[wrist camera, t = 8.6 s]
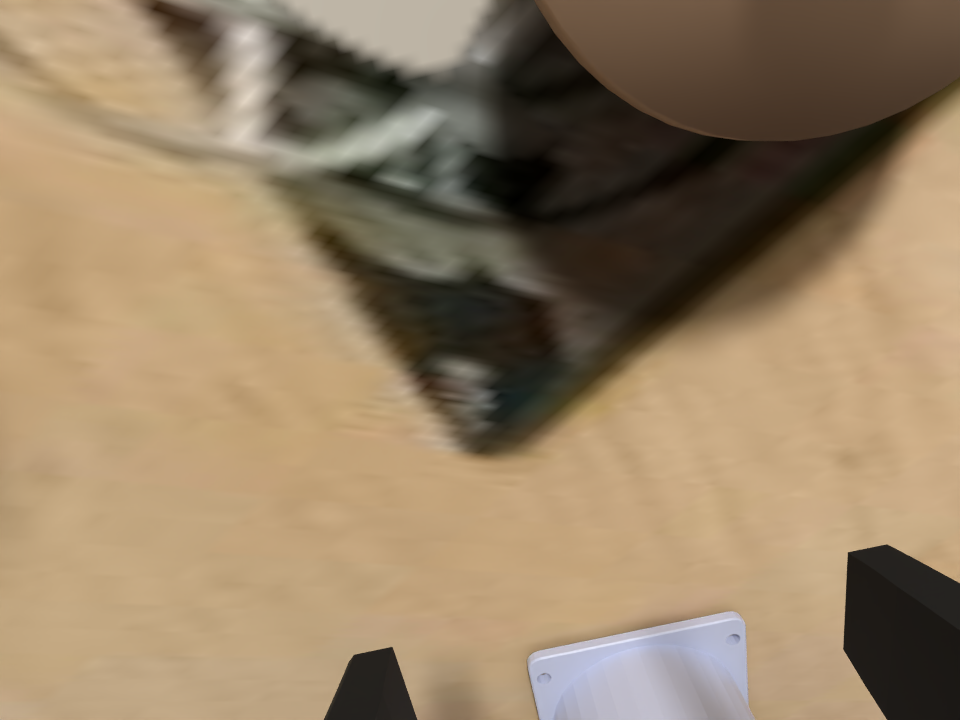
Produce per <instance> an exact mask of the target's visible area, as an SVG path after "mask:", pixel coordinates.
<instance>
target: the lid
mask: <svg viewBox="0 0 960 720" xmlns="http://www.w3.org/2000/svg"><path fill="white" fill-rule="evenodd" d="M534 1H535V3H536V5H537V6H538V8H539V9H540V11H541V13H542V14H543V16H544V17H545V19H546V21H547V22H548V24H549V25H550V27H551V29H552V30H553V32H554V33H555V34H556V36H557V37H558V38H559V39H560V40H561V42H562V43H563V44H564V45H565V47H566V48H567V49H568V50H569V51H570V53H571V54H572V55H573V56H574V57H575V59H576V60H577V61H578V62H579V63H580V64H581V65H582V66H583V67H584V68H585V69H586V70H587V71H588V72H589V73H590V74H592V75H593V76H594V77H595V78H596V79H597V80H598V81H599V82H600V83H601V84H602V85H603V86H605V87H606V88H607V89H608V90H609V91H611V92H612V93H614V94H615V95H617V96H618V97H620V98H621V99H623V100H624V101H626V102H627V103H629V104H630V105H631V106H633V107H634V108H636V109H637V110H639V111H641V112H643V113H646V114H648V115H650V116H652V117H654V118H656V119H658V120H660V121H662V122H664V123H666V124H668V125H671V126H674V127H678V128H681V129H684V130H688V131H691V132H694V133H697V134H701V135H705V136H712V137H719V138H726V139H733V140H745V141H797V140H804V139H811V138H818V137H825V136H832V135H835V134H839V133H842V132H846V131H850V130H853V129H857V128H860V127H864V126H867V125H870V124H873V123H875V122H877V121H880V120H882V119H884V118H887V117H889V116H892V115H894V114H896V113H899V112H901V111H903V110H906V109H908V108H909V107H911V106H913V105H915V104H916V103H918V102H920V101H922V100H924V99H925V98H927V97H929V96H931V95H932V94H934V93H936V92H938V91H939V90H941V89H943V88H944V87H946V86H947V85H949V84H950V83H951V82H953V81H954V80H956V79H957V78H958V77H960V0H534Z"/></svg>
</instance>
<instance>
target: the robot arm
mask: <svg viewBox="0 0 960 720" xmlns="http://www.w3.org/2000/svg"><path fill="white" fill-rule="evenodd" d="M730 635H731V636H730ZM843 649H844V651H845V653H846V654H847V656H848V658H849V659H850V661H851V663H852V664H853V666H854V668H855V669H856V671H857V673H858V674H859V676H860V678H861V679H862V681H863V683H864V684H865V686H866V687H867V689H868V691H869V692H870V694H871V695H872V697H873V698H874V700H875V701H876V703H877V705H878V706H879V708H880V709H881V711H882V712H883V714H884V716H885V717H886V719H887V720H960V583H958V582H956V581H954V580H953V579H951V578H949V577H947V576H945V575H943V574H942V573H940V572H938V571H936V570H934V569H932V568H931V567H929V566H927V565H925V564H923V563H921V562H919V561H918V560H916V559H914V558H912V557H910V556H908V555H906V554H904V553H903V552H901V551H899V550H897V549H895V548H893V547H891V546H889V545H882V546H877V547H872V548H867V549H863V550H858V551H853V552H848V562H847V584H846V605H845V626H844V648H843ZM527 666H528V671H529V676H530V680H531V685H532V689H533V693H534V698H535V702H536V706H537V711H538V715H539V719H540V720H755V718H754V716H753V714H752V712H751V710H750V709H749V704H748V677H747V650H746V625H745V622H744V620H743V619H742V617H741V616H740V615H739V614H738V613H736V612H733V611H731V612H723V613H718V614H714V615H709V616H704V617H699V618H694V619H689V620H685V621H680V622H675V623H670V624H665V625H660V626H656V627H651V628H646V629H641V630H636V631H631V632H627V633H622V634H617V635H612V636H607V637H602V638H598V639H593V640H588V641H583V642H578V643H573V644H569V645H564V646H559V647H554V648H549V649H544V650H540V651H536V652H534V653H532V654H531V655H530V656H529V657H528V659H527ZM543 673H546V674H544V675H541V674H543ZM324 720H417V718H416V715H415V712H414V709H413V706H412V703H411V700H410V697H409V694H408V691H407V688H406V685H405V682H404V679H403V677H402V674H401V671H400V668H399V665H398V662H397V659H396V656H395V653H394V650H393V647H390V648H385V649H380V650H375V651H371V652H366V653H361V654H356V655H354V656H353V657H352V659H351V660H350V661H349V663H348V666H347V668H346V670H345V673H344V675H343V677H342V680H341V682H340V684H339V687H338V689H337V691H336V694H335V696H334V698H333V700H332V703H331V705H330V707H329V709H328V712H327V714H326V716H325V718H324Z"/></svg>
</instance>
